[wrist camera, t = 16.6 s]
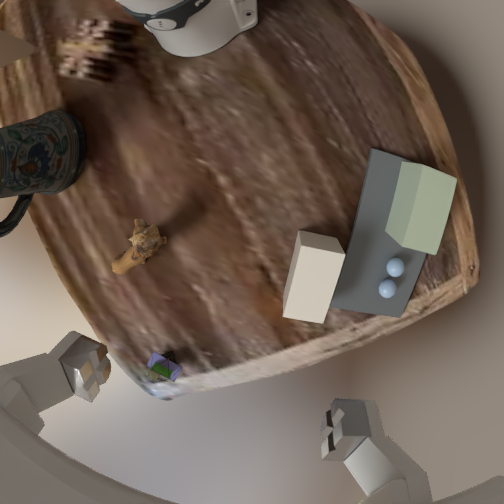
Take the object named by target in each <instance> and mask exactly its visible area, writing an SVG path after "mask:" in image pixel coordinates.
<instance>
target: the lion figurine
mask: <svg viewBox="0 0 504 504" xmlns="http://www.w3.org/2000/svg"><path fill="white" fill-rule="evenodd" d="M135 226H136V228H135V229H134V231H133V232H134V234H133V236H132V237H131V238H130V239H129V240H130V241H132V246H131V247H130V248H129V249H128V250H127V251H126V253H122V254H120V255H118V256H117V257H116V258H115V259H114V261H113V263H112V268H113V269H112V271H113V272H115V273H117V274H120V275H122V274H126V273H128V272H130V271H131V270H132V269H134V268H135V266H137V265H138V264H144V263H145V262H146V258H147V257H150V256H153V255H154V254H155V253H156V252H157V250H158V249H159V248H160V247H161V245H162V244H165V243H167V238H166V237H164V236H163V237H161V236H160V235H159V231H158V228H157V226H156V225H154V224H151V225H149V226H148V225H147V223H146V221H145V220H143V219H135Z"/></svg>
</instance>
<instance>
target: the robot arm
mask: <svg viewBox="0 0 504 504" xmlns="http://www.w3.org/2000/svg"><path fill="white" fill-rule="evenodd" d="M116 1H117V2H119V3H120V4H122V6H123V8H124V9H125V11H126V12H128V13H129V14H130V15H132V16H133V17H134V18H135V19H137V20H138V21H140V22H141V23H143V24H144V26H145V28H146V29H147V30H148V31H150V32H151V33H153V34H154V35H155V37H156V38H157V40H158V42H159V43H160V45H161V46H162V47H163V48H164V49H165V50H166V51H168V52H169V53H171V54H174V55H177V56H183V57H193V56H200V55H204V54H207V53H210V52H212V51H215V50H217V49H219V48H220V47H222V46H224V45H225V44H226V43H228V42H229V41H230V40H231V39H232V38H233V37H234V36H236V35H237V34H238V33H240V32H242V31H245V30H247V29H250V28H252V27H254V26H255V25H256V24H257V22H258V15H257V0H116ZM247 14H251V15H250V16H247ZM107 353H108V350H107V346H106V345H104V344H102V343H99V342H97V341H95V340H92V339H91V338H89V337H86V336H84V335H82V334H80V333H78V332H76V331H71V332H69V333H68V334H67V335H66V336H65V337H64V338H63V339H62V340H61V341H60V342H59V343H58V344H57V346H55V348H53V349H52V351H51V352H50V353H49V354H46V353H43V354H40V355H37V356H33V357H30V358H27V359H23V360H20V361H16V362H13V363H9V364H6V365H2V366H0V504H177V503H174V502H171V501H168V500H164V499H161V498H158V497H155V496H153V495H150V494H147V493H144V492H142V491H139V490H137V489H134V488H131V487H129V486H127V485H124V484H122V483H120V482H118V481H115V480H113V479H111V478H109V477H107V476H105V475H103V474H101V473H99V472H97V471H95V470H93V469H91V468H89V467H87V466H86V465H84V464H82V463H80V462H78V461H77V460H75V459H73V458H72V457H70V456H68V455H67V454H65V453H63V452H62V451H60V450H59V449H57V448H56V447H54V446H52V445H51V444H50V443H48V442H47V441H45V440H44V439H42V438H41V437H40V436H38V434H39V432H40V431H41V430H42V428H43V427H44V421H43V420H42V418H41V417H40V416H39V414H38V413H39V412H41V411H43V410H45V409H47V408H50V407H52V406H53V405H56V404H57V403H60V402H61V401H63V400H65V399H67V398H69V397H71V396H73V395H74V394H75V395H77V396H79V397H81V398H83V399H85V400H87V401H89V402H92V401H93V400H94V398H95V397H96V396H97V394H98V393H99V391H100V389H99V385H101V384H104V383H105V382H106V381H107V379H108V378H109V375H110V372H111V363H110V360H109V359H108V358H107V356H106V354H107ZM321 436H322V437H323V439H324V440H325V441H324V442H323V443H322V445H321V455H322V460H328V461H344V463H345V465H346V466H347V468H348V469H349V471H350V472H351V474H352V475H353V476H354V478H355V479H356V480H357V482H358V484H359V485H360V486H361V488H362V489H363V491H364V492H365V493H366V495H367V496H368V497H367V498H365V499H363V500H361V501H360V502H358V503H357V504H504V477H503V476H496V477H493V478H491V479H489V480H487V481H485V482H483V483H481V484H479V485H477V486H474V487H473V488H470V489H467V490H465V491H462V492H460V493H458V494H455V495H453V496H449V497H447V498H444V499H441V500H438V501H435V502H433V501H432V495H431V490H430V486H429V481H428V477H427V473H426V472H425V471H424V470H423V469H422V468H421V467H420V466H419V465H418V464H417V463H416V462H415V461H413V460H412V459H411V458H410V457H409V456H408V455H407V454H406V453H405V452H404V451H403V450H402V449H401V448H400V447H399V446H398V445H397V444H396V443H395V442H394V441H393V440H392V439H391V438H390V437H389V436H385V434H384V429H383V425H382V421H381V417H380V413H379V409H378V405H377V402H376V401H375V400H355V399H334V400H333V402H332V403H331V410H329V411H327V412H326V413H325V415H324V416H323V419H322V422H321Z"/></svg>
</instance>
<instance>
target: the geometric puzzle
mask: <svg viewBox="0 0 504 504" xmlns="http://www.w3.org/2000/svg"><path fill="white" fill-rule="evenodd" d="M168 353H169V352H168ZM171 353H173V351H171ZM165 354H166V353H165ZM162 355H163V354H162ZM162 355H160V354H158V353H156V352H154V351H153V353H152V355H151V357H150V360H149V362H148V364H147V371H148V375H149V376H150V377H151V378H152V379H153V380H154V381H155V383H157V382H156V381H157V380H158V378H159V376H160V374H161V375H163V376H165V377H167V378H168V379H170V380H172V381H173V382H175V380H176V378H177V376H178V374H179V372H180V370H181V369H182V368H183V367H181V366H179V365H178V364H176V363H173V361H172V362H171V360H168V358H169V357H168V358H167V359H166V357H165V358H164V356H163V357H162ZM170 355H171V354H170ZM170 355H169V356H170ZM173 357H174V355H173ZM174 361H175V359H174ZM180 365H181V364H180ZM148 367H149V368H150V369H152V370H154V371H156V372H154V371H152V370H150V369H149V368H148ZM163 381H164V380H163ZM159 382H160V381H159Z"/></svg>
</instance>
